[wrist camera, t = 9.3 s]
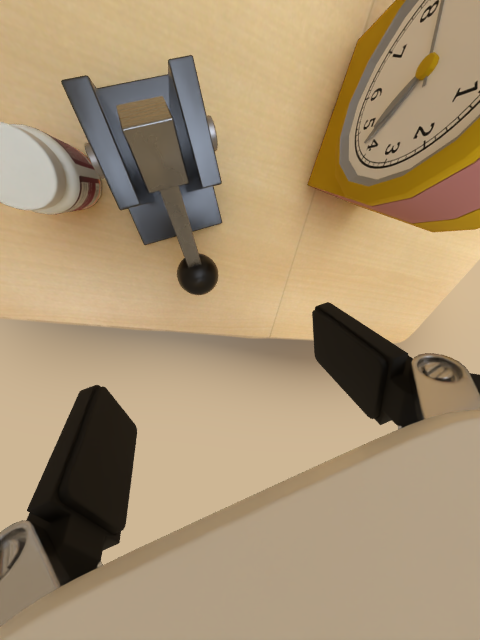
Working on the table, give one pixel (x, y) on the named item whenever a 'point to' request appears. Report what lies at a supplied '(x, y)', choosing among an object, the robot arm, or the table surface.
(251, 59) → the table surface
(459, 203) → the alarm clock
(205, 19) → the table surface
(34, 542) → the robot arm
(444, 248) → the table surface
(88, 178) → the pill bottle
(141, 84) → the switch bracket
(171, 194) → the switch lever
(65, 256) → the table surface
